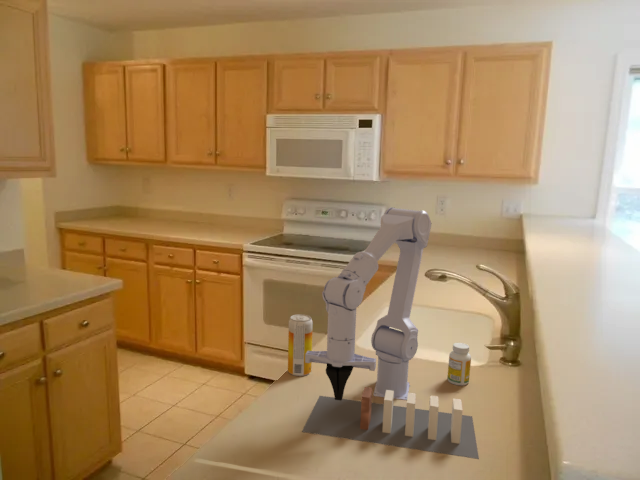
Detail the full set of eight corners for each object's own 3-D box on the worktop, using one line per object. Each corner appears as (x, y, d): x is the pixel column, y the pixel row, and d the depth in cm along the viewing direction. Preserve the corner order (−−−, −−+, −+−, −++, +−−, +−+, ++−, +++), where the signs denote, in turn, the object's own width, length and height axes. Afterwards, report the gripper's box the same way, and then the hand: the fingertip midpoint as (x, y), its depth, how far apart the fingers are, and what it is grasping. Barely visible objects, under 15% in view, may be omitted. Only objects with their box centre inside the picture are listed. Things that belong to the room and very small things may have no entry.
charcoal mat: (319, 397, 113) (319, 395, 113) (471, 418, 106) (472, 416, 106) (301, 433, 98) (301, 431, 98) (478, 461, 90) (478, 458, 90)
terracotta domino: (360, 428, 99) (361, 396, 98) (363, 417, 104) (364, 386, 103) (367, 430, 99) (369, 397, 98) (370, 418, 103) (372, 387, 102)
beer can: (311, 368, 129) (312, 314, 127) (311, 378, 123) (313, 321, 121) (288, 368, 129) (289, 313, 127) (287, 378, 123) (288, 321, 121)
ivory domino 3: (427, 438, 96) (430, 405, 95) (428, 427, 101) (430, 395, 100) (436, 440, 96) (438, 406, 95) (436, 428, 100) (438, 396, 99)
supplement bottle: (451, 386, 121) (454, 349, 120) (444, 376, 126) (446, 341, 125) (472, 385, 122) (475, 349, 120) (464, 376, 127) (467, 341, 125)
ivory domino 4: (451, 442, 95) (453, 409, 94) (450, 430, 100) (453, 398, 99) (459, 443, 95) (462, 410, 94) (458, 431, 99) (461, 399, 98)
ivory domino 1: (382, 432, 98) (384, 399, 97) (384, 420, 103) (386, 389, 102) (390, 433, 98) (392, 400, 97) (392, 422, 102) (393, 390, 101)
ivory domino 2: (404, 435, 97) (406, 402, 96) (406, 424, 102) (408, 392, 101) (413, 436, 97) (415, 403, 96) (413, 425, 101) (415, 393, 100)
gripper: (301, 338, 97) (300, 402, 100) (374, 346, 94) (371, 412, 96) (310, 327, 104) (308, 387, 106) (378, 334, 101) (375, 395, 103)
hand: (338, 398), depth 102 cm, fingers closed
